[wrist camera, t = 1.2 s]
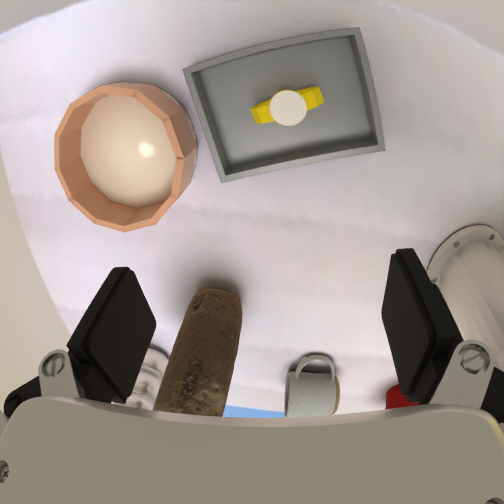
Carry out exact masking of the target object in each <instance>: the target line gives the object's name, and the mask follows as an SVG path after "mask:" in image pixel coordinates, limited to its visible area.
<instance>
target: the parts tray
mask: <svg viewBox="0 0 504 504" xmlns="http://www.w3.org/2000/svg"><path fill="white" fill-rule="evenodd" d="M182 70H183V73H184V76H185V79H186V82H187V84H188V87H189V90H190V93H191V96H192V99H193V102H194V105H195V108H196V111H197V114H198V117H199V120H200V123H201V126H202V128H203V131H204V134H205V137H206V140H207V143H208V146H209V149H210V152H211V155H212V158H213V160H214V163H215V166H216V169H217V172H218V175H219V178H220V181H221V183H224V182H228V181H233V180H237V179H241V178H245V177H249V176H254V175H258V174H262V173H267V172H271V171H276V170H281V169H285V168H290V167H295V166H300V165H305V164H310V163H315V162H320V161H326V160H331V159H337V158H342V157H348V156H354V155H360V154H366V153H373V152H379V151H385V144H384V137H383V131H382V124H381V119H380V113H379V107H378V102H377V97H376V92H375V87H374V83H373V78H372V74H371V70H370V65H369V61H368V57H367V53H366V50H365V46H364V42H363V38H362V35H361V31H360V28H359V27H358V28H349V29H340V30H333V31H326V32H319V33H313V34H307V35H302V36H297V37H292V38H287V39H282V40H278V41H273V42H269V43H265V44H261V45H257V46H253V47H249V48H246V49H242V50H239V51H235V52H232V53H228V54H225V55H222V56H219V57H216V58H213V59H210V60H207V61H204V62H201V63H198V64H195V65H192V66H190V67H187V68H184V69H182ZM315 86H318V87H319V88H320V91H321V94H322V97H323V99H324V103H323V104H321V105H319V106H318V107H315V108H313V109H310V110H308V111H307V112H306V115H305V117H304V119H303V120H302V121H301V122H300V123H298V124H296V125H292V126H285V125H281V124H279V123H277V122H276V121H273V122H269V123H264V124H256V122H255V120H254V118H253V115H252V113H251V108H252V107H253V106H255V105H257V104H260V103H262V102H264V101H267V100H269V99H271V98H272V97H273V96H274V95H275V94H276V93H277V92H279V91H281V90H293V91H297V90H301V89H305V88H309V87H315Z"/></svg>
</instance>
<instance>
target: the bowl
mask: <svg viewBox="0 0 504 504" xmlns="http://www.w3.org/2000/svg"><path fill="white" fill-rule="evenodd" d="M54 150H55V171H56V173H57V176H58V178H59V180H60V182H61V185H62V187H63V189H64V191H65V193H66V195H67V197H68V200H69V201H70V202H71V203H72V204H73V205H74V206H75V207H76V208H77V209H78V210H80V211H81V212H82V213H83V214H84V215H85V216H86V217H87V218H89V219H90V220H91V221H92V222H93V223H94V224H98V225H101V226H105V227H108V228H112V229H115V230H119V231H122V232H128V231H132V230H136V229H139V228H143V227H147V226H151V225H155V224H156V223H157V222H158V221H159V220H160V218H161V217H162V216H163V215H164V214H165V213H166V212H167V210H168V209H169V208H170V207H171V206H172V205H173V203H174V202H175V201H176V200H177V199H178V198H179V197H180V195H181V194H182V193H183V192H184V190H185V189H186V188H187V187H188V185H189V184H190V183H191V178H192V174H193V172H194V169H195V165H196V159H197V141H196V135H195V131H194V128H193V125H192V123H191V120H190V118H189V116H188V115H187V113H186V111H185V110H184V108H183V107H182V106H181V105H180V103H179V102H178V101H177V100H176V99H175V98H174V97H172V96H171V95H170V94H168V93H167V92H166V91H164V90H162V89H160V88H158V87H157V86H154V85H149V84H144V83H127V82H118V83H113V84H107V85H102V86H99V87H97V88H95V89H94V90H92V91H90V92H89V93H87V94H85V95H84V96H82V97H80V98H79V99H77V100H75V101H74V102H72V103H71V104H70V105H69V107H68V109H67V111H66V113H65V115H64V117H63V119H62V120H61V123H60V125H59V127H58V129H57V131H56V133H55V143H54Z"/></svg>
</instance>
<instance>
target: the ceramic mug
mask: <svg viewBox="0 0 504 504" xmlns="http://www.w3.org/2000/svg"><path fill="white" fill-rule="evenodd" d="M314 360H321V361H322V362H326V363H327V364H328V365H330V367H331V373H330V374H326V373H308V372H300V371H301V370H302V368H303V367H304V366H305V365H306V364H308V363H310V362H312V361H314ZM334 375H335V370H334V366H333V363H332V361H331V360H330V359H329V358H328V357H326V356H324V355H319V354H314V355H309V356H307V357H305V358H304V359H303V360H302V361H301V362H300V363H299V365H298V366H297V369H296V371H289V372H288V375H287V379H286V387H285V417H286V418H293V417H315V416H330V415H333V414H334V413H335V412H336V411H337V408H338V405H339V398H340V387H339V382H338V379H337V377H336V376H334Z"/></svg>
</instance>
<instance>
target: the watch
mask: <svg viewBox="0 0 504 504" xmlns="http://www.w3.org/2000/svg"><path fill="white" fill-rule="evenodd" d="M323 103H324V99H323V97H322V94H321V91H320V88H319V87H318V86H315V87H309V88H305V89H301V90H297V91H293V90H281V91H279V92H277V93H276V94H275V95H274V96H273V97H272V98H271V99H269V100H267V101H264V102H262V103H260V104H257V105H255V106H253V107H252V108H251V113H252V115H253V118H254V120H255V122H256V124H264V123H269V122H273V121H276V122H277V123H279V124H281V125H285V126H292V125H296V124H298V123H300V122H301V121H302V120H303V119H304V117H305V115H306V112H307V111H308V110H310V109H313V108H315V107H318V106H319V105H321V104H323Z"/></svg>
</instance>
